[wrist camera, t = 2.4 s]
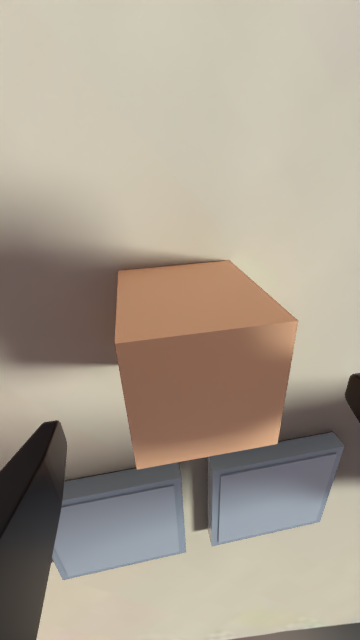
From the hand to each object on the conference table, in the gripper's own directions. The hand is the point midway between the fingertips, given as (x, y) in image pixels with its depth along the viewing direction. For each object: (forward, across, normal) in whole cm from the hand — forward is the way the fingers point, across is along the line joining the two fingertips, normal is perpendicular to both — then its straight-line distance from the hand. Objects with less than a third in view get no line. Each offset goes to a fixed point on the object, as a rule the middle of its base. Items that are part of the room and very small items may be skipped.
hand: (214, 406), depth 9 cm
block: (+6, 0, 0) cm, 6 cm away
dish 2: (+6, -6, +15) cm, 17 cm away
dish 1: (+6, +5, +15) cm, 17 cm away
